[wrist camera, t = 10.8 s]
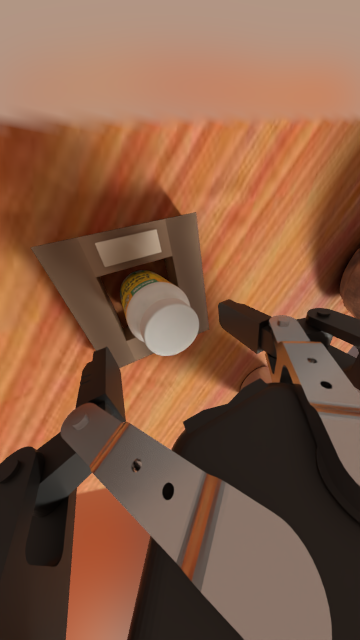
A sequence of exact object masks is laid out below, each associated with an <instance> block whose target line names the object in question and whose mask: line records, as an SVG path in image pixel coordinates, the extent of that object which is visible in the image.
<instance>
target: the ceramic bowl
mask: <svg viewBox="0 0 360 640" xmlns="http://www.w3.org/2000/svg"><path fill="white" fill-rule="evenodd" d="M340 295H341V297H342V299H343V303H344V306H345V307H346V309H347V310H348V311H349V312H350V313H351V314H352V315H353V316H354V317H355V318H357V319H360V248H359V249H358V250H357V251H356V252H355V254H354V255H353V257H352V258H351V260H350V261H349V263H348V265H347V267H346V269H345V271H344V273H343V276H342V279H341V283H340Z"/></svg>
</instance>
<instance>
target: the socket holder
mask: <svg viewBox="0 0 360 640" xmlns="http://www.w3.org/2000/svg"><path fill="white" fill-rule="evenodd" d="M31 249H32V251H33V252H34V254H35V255H36V257H37V259H38V260H39V262H40V263H41V265H42V266H43V268H44V270H45V271H46V273H47V274H48V276H49V277H50V279H51V281H52V282H53V284H54V285H55V287H56V288H57V290H58V292H59V293H60V295H61V296H62V298H63V300H64V301H65V303H66V304H67V306H68V307H69V309H70V311H71V312H72V314H73V315H74V317H75V318H76V320H77V322H78V323H79V325H80V326H81V328H82V330H83V331H84V333H85V334H86V336H87V337H88V339H89V341H90V342H91V344H92V345H93V347H94V348H95V350H96V351H97V350H99V349H102V348H105V347H108V348H109V350H110V352H111V353H112V355H113V357H114V359H115V360H116V362H117V364H118V366H119V368H121V367H123V366H126V365H128V364H130V363H132V362H135V361H137V360H139V359H142V358H144V357H146V356H149V355H151V354H153V352H152V351H151V350H149V348H148V347H147V346H146V344H145V342H143V341H141V340H139V339H138V338H137V337H135V336H134V334H133V333H132V332H131V330H130V328H129V326H128V327H126V328H123V326H122V324H121V322H120V320H119V317H118V315H117V313H116V311H115V309H114V307H113V304H112V302H111V300H110V298H109V296H108V294H107V291H106V289H105V287H104V285H103V283H102V281H101V278H100V276H103V275H106V274H110V273H113V272H117V271H120V270H124V269H128V268H131V267H135V266H138V265H142V264H145V263H149V262H153V261H156V260H160V259H163V258H164V261H165V265H166V269H167V274H168V278H169V282H171V283H172V284H174V285H175V286H177V287H178V288H180V289H181V290H182V291H183V292H184V293H185V295H186V296H187V298H188V300H189V303H190V307H191V308H192V309H193V310H194V311H195V313H196V314H197V316H198V319H199V330H198V333H197V334H199V333H202V332H204V331H206V330H208V329H209V323H208V314H207V305H206V296H205V288H204V279H203V270H202V261H201V252H200V243H199V234H198V225H197V216H196V212H195V213H190V214H185V215H181V216H176V217H171V218H167V219H162V220H157V221H152V222H148V223H143V224H138V225H134V226H129V227H124V228H119V229H115V230H110V231H105V232H101V233H96V234H91V235H87V236H82V237H77V238H72V239H68V240H63V241H58V242H54V243H49V244H44V245H40V246H35V247H31Z"/></svg>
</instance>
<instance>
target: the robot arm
mask: <svg viewBox="0 0 360 640" xmlns="http://www.w3.org/2000/svg"><path fill="white" fill-rule="evenodd" d="M218 310H219V322H220V325H221V326H222V328H223V329H224V330H226V331H227V332H228V333H230V334H231V335H232V336H234V337H235V338H236V339H238V340H239V341H240V342H242V343H243V344H244V345H246V346H247V347H248V348H250V349H251V350H252V351H254V352H255V353H256V354H258V353H260V352H262V351H265V352H266V354H265V356H266V360H267V364H268V367H260V368H258V369H256V370H255V371H253V372H252V373H251V374H250V375H249V376H248V377H247V378H246V379H245V380H244V382H243V384H242V386H241V389H240V392H239V393H238V394H237V395H236V396H235V397H234V398H233V399H232V400H231V401H230V402H229V403H228V404H225V405H221V406H217V407H214V408H210V409H206V410H203V411H201V412H200V413H198V414H196V415H194V416H193V417H191V418H189V419H187V420H186V421H184V422H183V424H184V426H185V430H184V431H183V432H182V433H181V435H180V436H179V437H178V439H177V440H176V442H175V444H174V445H173V448H172V450H170V449H169V448H167V447H165V446H164V445H162V444H161V443H159V442H158V441H156V440H155V439H153V438H152V437H150V436H149V435H147V434H145V433H144V432H142V431H141V430H139V429H138V428H136V427H135V426H133V425H132V424H130V423H128V422H125V421H126V419H125V409H124V400H123V390H122V381H121V372H120V369H119V366H118V364H117V362H116V360H115V359H114V357H113V355H112V353H111V352H110V350H109V348H108V347H105V348H102V349H99V350H97V351H94V353H93V361H92V362H89V363H87V365H86V366H85V368H84V369H83V371H82V376H81V382H80V387H79V393H78V398H77V403H76V409H75V410H73V411H72V412H71V413H70V414H69V415H68V417H67V418H66V419H65V421H64V422H63V424H62V427H61V432H60V433H58V434H57V435H56V436H55V437H53V438H52V439H51V440H49V441H48V442H47V443H45V444H44V445H43V446H42V447H40V448H39V449H38V450H36V449H34V448H33V447H24V448H21V449H19V450H17V451H16V452H14V453H13V454H11V455H10V456H9V457H7V458H6V459H5V460H4V461H3V462H2V463H1V464H0V640H66V628H67V614H68V600H69V586H70V574H71V559H72V546H73V531H74V518H75V505H76V492H77V487H78V486H79V485H80V484H81V483H82V482H83V481H84V480H85V479H86V478H87V477H88V476H89V475H90V474H91V473H93V474H94V475H95V476H96V477H97V478H98V479H99V480H100V482H101V483H102V484H103V485H104V486H105V487H106V488H107V489H108V490H109V491H110V492H111V493H112V494H113V496H114V497H115V498H116V499H117V500H118V501H119V502H120V503H121V504H122V505H123V506H124V507H125V508H126V509H127V511H128V512H129V513H130V514H131V515H132V516H133V517H134V518H135V519H136V520H137V521H138V522H139V523H140V524H141V526H143V528H144V529H145V530H146V531H147V532H148V533H149V534H150V535H151V536H150V541H149V545H148V549H147V554H146V558H145V563H144V567H143V572H142V576H141V581H140V585H139V590H138V594H137V598H136V603H135V607H134V612H133V616H132V620H131V625H130V629H129V634H128V639H127V640H360V394H359V393H358V391H357V390H356V389H355V388H357V389H359V390H360V319H357V318H354V317H351V316H348V315H345V314H342V313H339V312H336V311H333V310H330V309H324V308H315V309H311V310H309V311H308V312H307V316H306V318H303V319H297V320H296V319H294V318H292V317H289V316H283V315H279V316H274V317H271V316H268V315H266V314H264V313H262V312H260V311H258V310H255V309H253V308H250V307H249V306H247V305H245V304H239V303H236V302H234V301H232V300H229V299H228V300H226V301H223V302H221V303H219V305H218ZM333 336H335V337H337V338H339V339H341V340H343V341H346V342H348V343H350V344H352V345H354V346H355V347H356V348H357V349H358V351H359V355H358V356H357V358H355V357H353V356H351V355H349V354H347V353H345V352H343V351H341V350H339V349H337V348H335V347H333V346H331V345H330V343H331V340H332V337H333ZM123 422H125V423H123Z"/></svg>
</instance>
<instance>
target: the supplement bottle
mask: <svg viewBox="0 0 360 640" xmlns="http://www.w3.org/2000/svg"><path fill="white" fill-rule="evenodd" d="M120 298H121V303H122V306H123V310H124V313H125V317H126V320H127V324H128V326H129V328H130V330H131V332H132V333H133V334H134V336H135V337H137V338H138V339H139V340H141V341H143V342H145V344H146V346H147V347H148V348H149V350H151V351H152V352H153V353H155V354H157V355H161V356H171V355H175V354H178V353H180V352H182V351H184V350H185V349H186V348H187V347H189V346H190V345H191V344H192V342H193V341H194V340H195V338H196V336H197V333H198V330H199V319H198V316H197V314H196V313H195V311H194V310H193V309H192V308H191V307H190V303H189V300H188V298H187V296H186V295H185V293H184V292H183V291H182V290H181V289H180V288H178V287H177V286H175V285H174V284H172V283H171V282H169V281H167V280H166V279H164V278H163V277H161V276H160V275H158V274H156V273H154V272H152V271H148V270H138V271H135V272H132V273H131V274H129V275H128V276H127V277H126V278H125V279H124V281H123V282H122V284H121V288H120Z"/></svg>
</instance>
